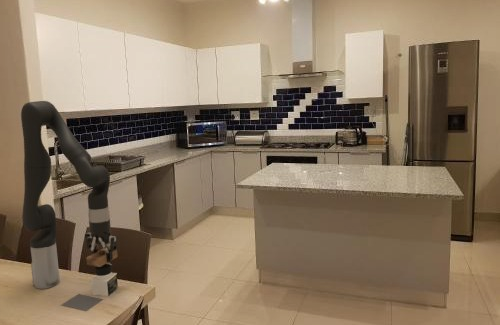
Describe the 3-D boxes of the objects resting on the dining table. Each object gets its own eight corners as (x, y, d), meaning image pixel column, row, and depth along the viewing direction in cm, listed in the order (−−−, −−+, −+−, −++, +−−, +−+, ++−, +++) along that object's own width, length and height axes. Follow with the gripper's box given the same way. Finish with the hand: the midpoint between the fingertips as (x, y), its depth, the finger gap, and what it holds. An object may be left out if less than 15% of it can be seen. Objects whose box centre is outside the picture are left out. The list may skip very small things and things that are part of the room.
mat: (60, 307, 147) (60, 305, 146) (79, 296, 155) (78, 293, 155) (86, 313, 142) (86, 311, 142) (103, 301, 151) (103, 299, 151)
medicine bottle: (108, 298, 153) (106, 269, 151) (91, 296, 154) (89, 267, 152) (118, 289, 160) (116, 261, 158) (102, 287, 161) (99, 260, 159)
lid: (87, 264, 151) (86, 254, 151) (105, 254, 160) (104, 245, 160) (99, 267, 149) (98, 257, 148) (117, 256, 158) (116, 247, 158)
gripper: (77, 219, 151) (81, 261, 154) (107, 223, 146) (111, 266, 149) (91, 214, 158) (94, 254, 161) (121, 217, 153) (124, 259, 156)
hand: (102, 260), depth 155 cm, fingers closed on lid, 6 cm apart
